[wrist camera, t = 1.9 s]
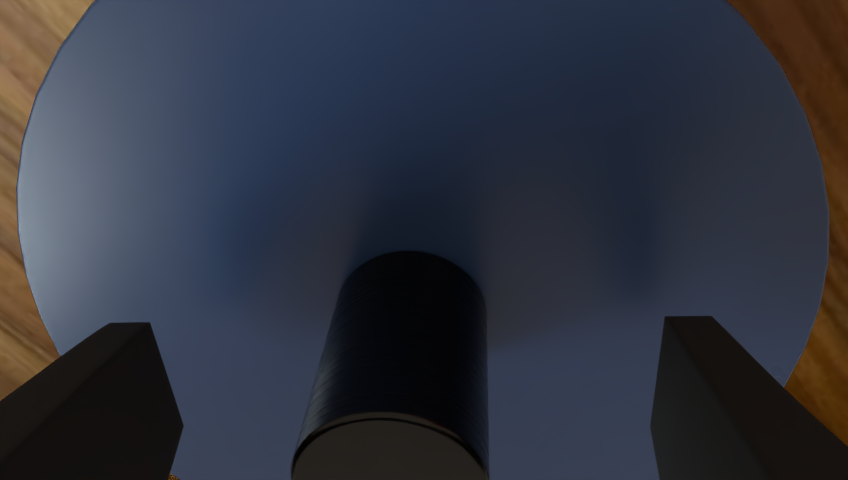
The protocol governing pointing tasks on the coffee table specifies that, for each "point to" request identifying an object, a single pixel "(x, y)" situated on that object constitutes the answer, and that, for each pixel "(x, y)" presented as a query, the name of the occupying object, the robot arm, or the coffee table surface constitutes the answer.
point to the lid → (420, 222)
